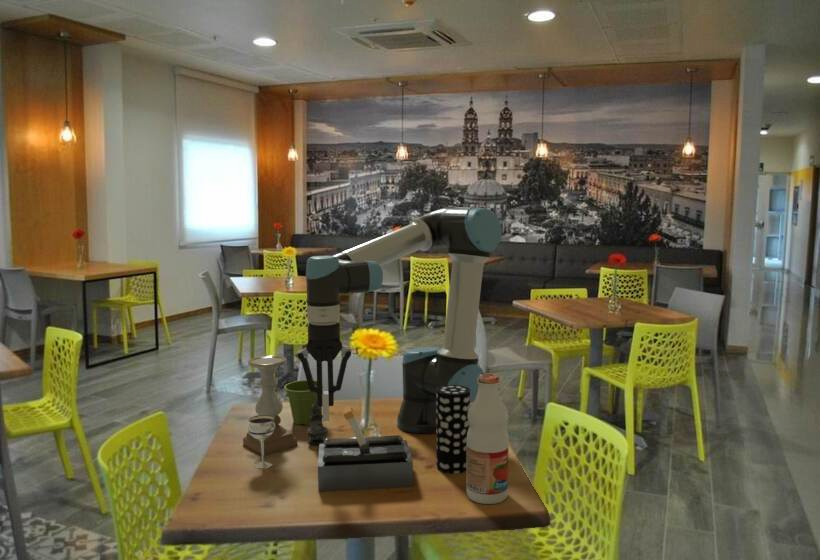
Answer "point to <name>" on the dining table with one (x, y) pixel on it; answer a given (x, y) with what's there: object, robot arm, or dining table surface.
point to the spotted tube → (452, 427)
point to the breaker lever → (356, 430)
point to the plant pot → (301, 400)
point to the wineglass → (261, 434)
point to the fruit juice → (487, 444)
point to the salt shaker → (316, 426)
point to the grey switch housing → (364, 464)
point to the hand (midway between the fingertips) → (326, 418)
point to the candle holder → (269, 407)
